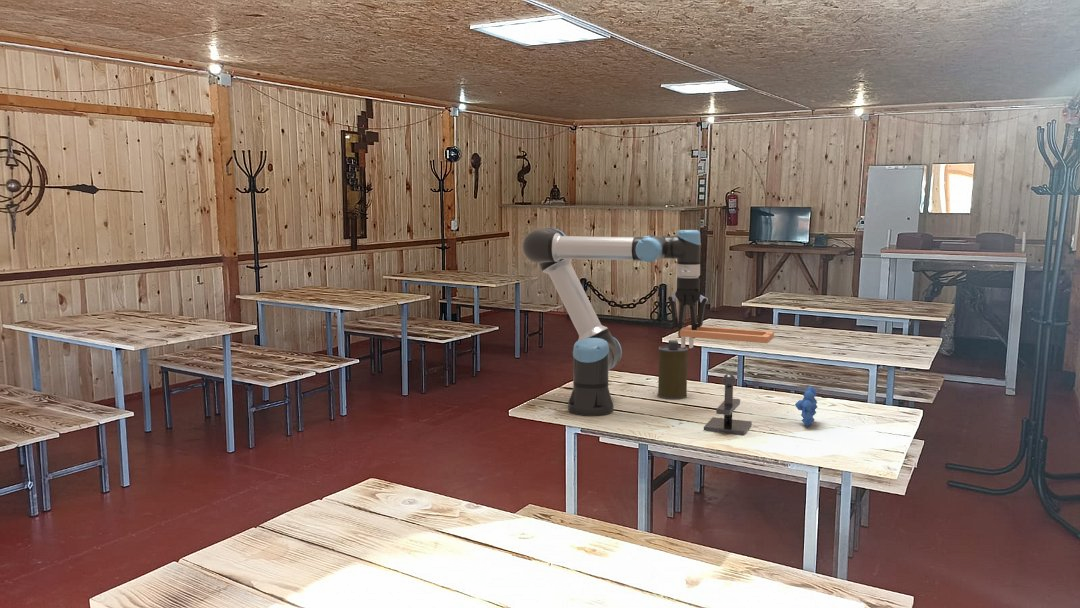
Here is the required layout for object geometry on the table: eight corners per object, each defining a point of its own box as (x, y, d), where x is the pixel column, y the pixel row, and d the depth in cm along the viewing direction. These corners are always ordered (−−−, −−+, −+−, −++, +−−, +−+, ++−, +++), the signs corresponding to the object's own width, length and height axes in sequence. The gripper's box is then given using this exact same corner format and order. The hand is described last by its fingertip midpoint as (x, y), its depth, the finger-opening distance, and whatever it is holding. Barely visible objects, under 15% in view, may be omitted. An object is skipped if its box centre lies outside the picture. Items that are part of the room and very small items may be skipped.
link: (679, 336, 258) (679, 330, 257) (689, 331, 268) (689, 325, 268) (767, 343, 246) (767, 337, 245) (773, 337, 256) (774, 331, 256)
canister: (689, 399, 278) (690, 343, 275) (659, 399, 278) (660, 343, 275) (684, 392, 288) (685, 338, 286) (655, 392, 288) (656, 338, 286)
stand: (702, 431, 238) (703, 377, 236) (714, 419, 251) (715, 367, 249) (742, 436, 233) (744, 380, 231) (752, 423, 246) (754, 371, 244)
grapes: (797, 418, 252) (799, 381, 251) (819, 421, 249) (821, 383, 247) (790, 427, 242) (792, 389, 240) (813, 430, 239) (815, 391, 237)
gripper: (662, 277, 260) (661, 347, 263) (708, 278, 254) (706, 350, 257) (669, 275, 267) (668, 344, 270) (713, 276, 260) (712, 347, 263)
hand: (687, 347), depth 263 cm, fingers closed on link, 2 cm apart
